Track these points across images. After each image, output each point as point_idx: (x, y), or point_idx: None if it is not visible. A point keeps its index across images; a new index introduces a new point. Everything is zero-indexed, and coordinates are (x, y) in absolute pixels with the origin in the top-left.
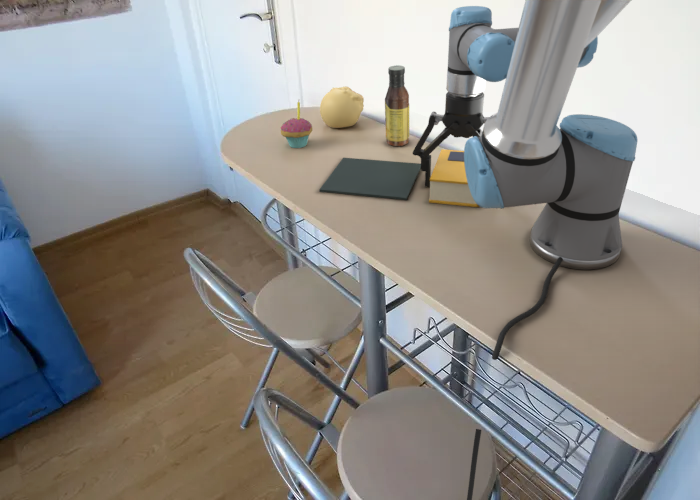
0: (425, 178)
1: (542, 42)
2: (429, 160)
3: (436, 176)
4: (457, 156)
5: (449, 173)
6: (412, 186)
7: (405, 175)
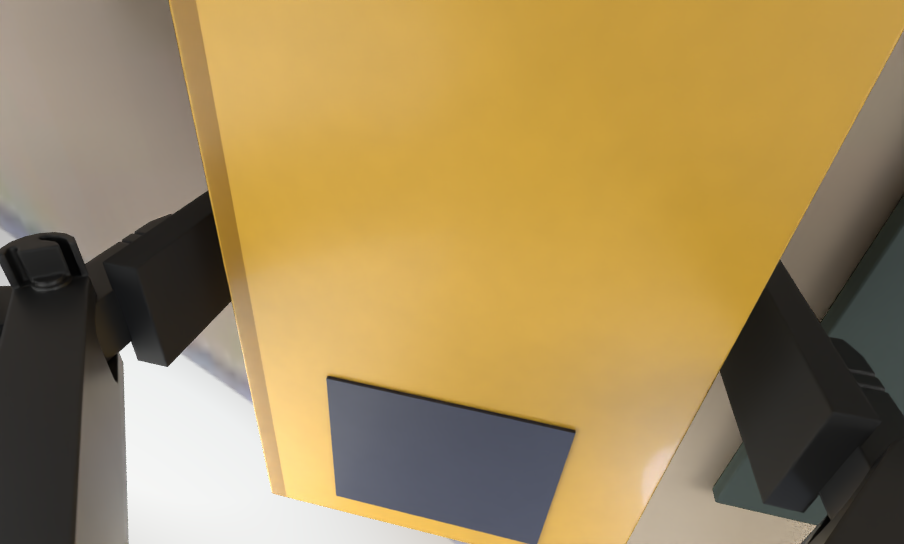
0: (784, 274)
1: None
2: (813, 415)
3: (804, 27)
4: (482, 473)
5: (581, 144)
6: (885, 231)
7: (898, 385)
